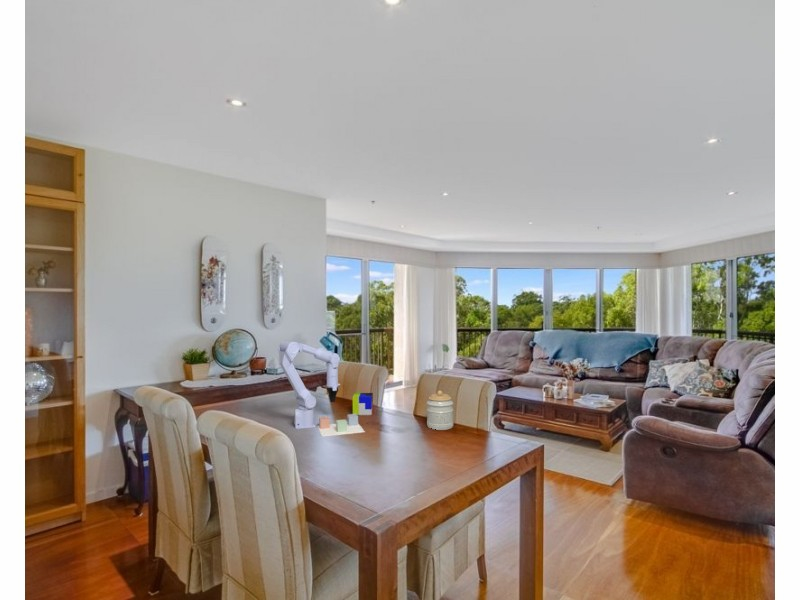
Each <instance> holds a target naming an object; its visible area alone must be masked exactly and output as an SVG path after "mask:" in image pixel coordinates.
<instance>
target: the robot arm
mask: <svg viewBox="0 0 800 600" xmlns="http://www.w3.org/2000/svg"><path fill="white" fill-rule="evenodd" d="M277 351H278V355H279V356H278V358H279V359H278V360H279V361H278V362H279V365H280V367H281V369H282V371H283V373H284V374H285V376H286V378H287V380H288V382H289V383H290V385H291V387H292V389H293V391H294V392H295V394H294V396H295V399H296V401H295V402H296V404H297V405H298V408H295V409H294V421H293V424H294V428H295V429H296V430H299V429H309V428H315V427H316V426H317V425H316V424H315V414H314V413H315V410H314V409H315V406H317V405H316V404H317V399H316V397H315V396H314V395H312V393H311V392H310V391H309V390H308V388H307V387H306V386H305V384H304V382H303V381H302V379H301V377H300V375H299V373H298V371H297V370H296V367H295V366H294V364H293V360H294V359H295V357H296V356H297V355H298V354H299V353H302V352H304V353H306V354H310V355H312V356H313V357H314V359H317V360H319V361H322V362H324V363H326V387H327V388H326V390H327V392H328V396H329V401H330V402H329V403H336V398H337V394H338V392H339V388H338V386H341V383H339V363H340V361H341V358H340V356H339V354H338V353H335V352H332V350H327V349H325V347H318V348H314V347H312V346H309V345H307V344H305V343H301V342H297V341H290V340H282V341H281V343H280V344H279V346H278V349H277Z"/></svg>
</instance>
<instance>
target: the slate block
mask: <svg viewBox="0 0 800 600" xmlns="http://www.w3.org/2000/svg"><path fill="white" fill-rule="evenodd" d="M346 416H347V417H346V421H347V424H348V425H349V426H355V425H358V424H359V415H357V414H353V413H350V414H349V413H348V414H347V415H346Z"/></svg>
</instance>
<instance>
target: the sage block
mask: <svg viewBox="0 0 800 600" xmlns="http://www.w3.org/2000/svg"><path fill="white" fill-rule="evenodd" d="M335 424H336V430H337V432H347V419H336V420H335Z"/></svg>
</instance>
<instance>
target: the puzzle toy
mask: <svg viewBox="0 0 800 600" xmlns="http://www.w3.org/2000/svg"><path fill="white" fill-rule="evenodd" d="M373 394H374V393H373V392H354V394H353V395H352V414H357V415H358V416H371V415H373V412H374V403H373V402H374V401H373V400H374V398H373V397H374V395H373Z"/></svg>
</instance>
